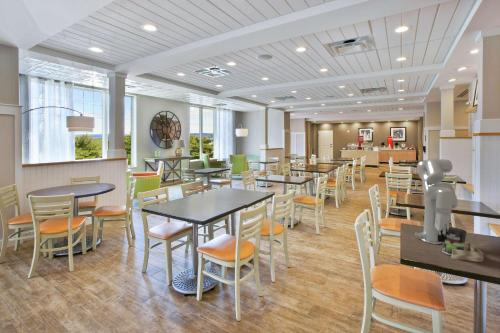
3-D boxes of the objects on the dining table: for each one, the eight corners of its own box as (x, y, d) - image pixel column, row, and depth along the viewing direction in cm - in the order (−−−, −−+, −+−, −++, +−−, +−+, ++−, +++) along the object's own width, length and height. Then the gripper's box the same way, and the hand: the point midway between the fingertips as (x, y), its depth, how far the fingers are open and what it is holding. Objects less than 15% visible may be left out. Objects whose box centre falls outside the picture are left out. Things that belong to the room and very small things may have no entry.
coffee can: (461, 258, 153) (464, 233, 152) (439, 252, 161) (442, 228, 160) (465, 254, 160) (468, 230, 159) (444, 248, 168) (447, 225, 166)
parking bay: (452, 258, 154) (452, 249, 153) (443, 247, 169) (443, 239, 168) (482, 262, 149) (483, 253, 149) (470, 251, 164) (471, 242, 163)
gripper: (432, 207, 168) (430, 236, 170) (439, 213, 154) (436, 244, 156) (447, 208, 165) (444, 238, 167) (455, 214, 151) (452, 246, 153)
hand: (440, 241), depth 161 cm, fingers closed
